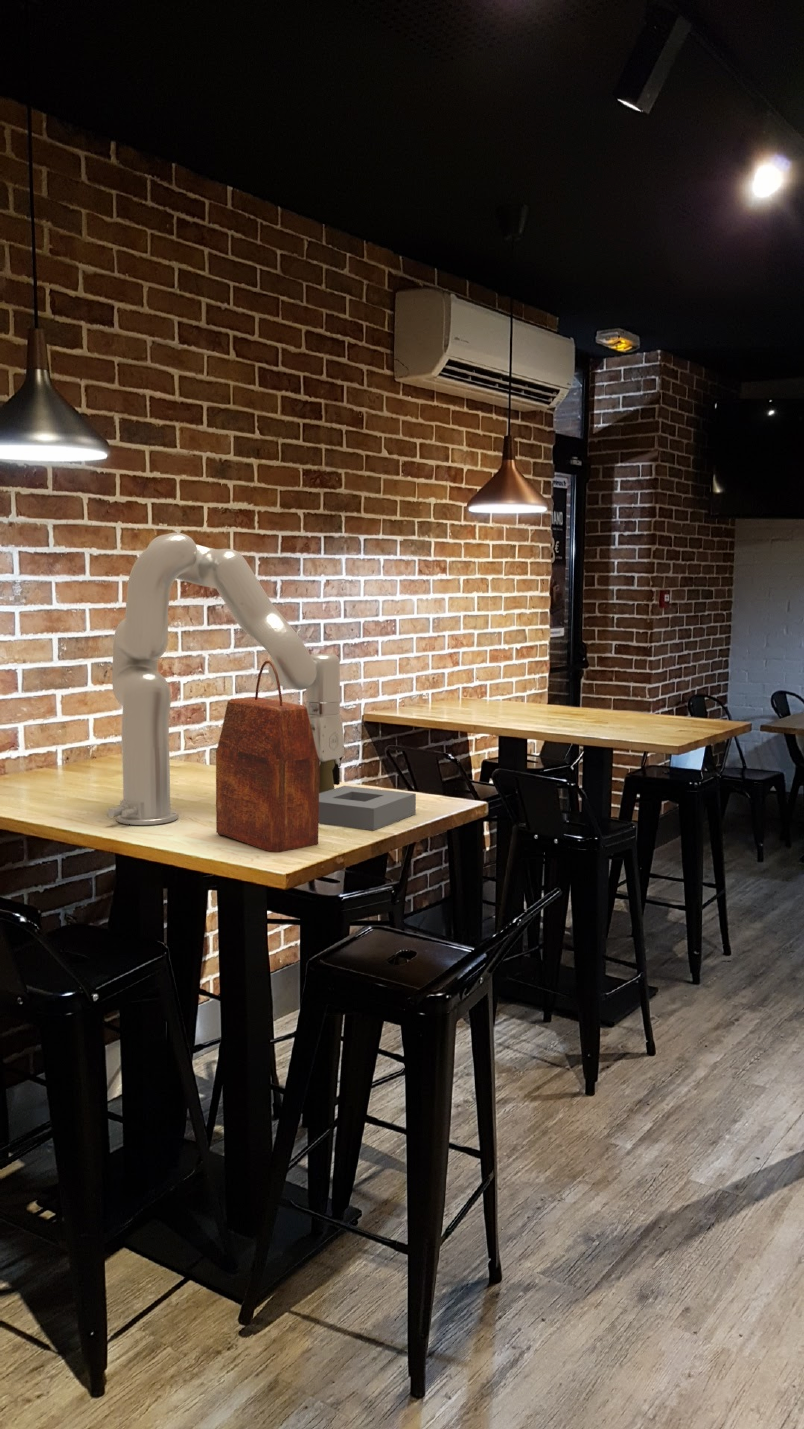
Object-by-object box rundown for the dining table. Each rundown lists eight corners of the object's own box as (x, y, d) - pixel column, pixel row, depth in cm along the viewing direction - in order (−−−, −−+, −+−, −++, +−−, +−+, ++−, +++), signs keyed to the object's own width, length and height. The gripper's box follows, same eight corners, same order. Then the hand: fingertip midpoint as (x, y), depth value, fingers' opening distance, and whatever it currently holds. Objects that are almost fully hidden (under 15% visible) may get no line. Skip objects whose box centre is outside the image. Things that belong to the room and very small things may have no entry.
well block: (373, 830, 212) (373, 808, 211) (299, 820, 220) (299, 799, 220) (415, 814, 228) (415, 793, 227) (344, 805, 236) (344, 785, 236)
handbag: (273, 855, 193) (275, 665, 188) (215, 834, 207) (215, 657, 203) (318, 846, 200) (321, 662, 195) (259, 827, 214) (260, 655, 210)
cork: (311, 801, 241) (311, 753, 239) (337, 801, 240) (337, 753, 239) (308, 806, 235) (308, 757, 233) (335, 807, 234) (335, 758, 233)
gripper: (315, 714, 226) (316, 795, 228) (357, 706, 241) (357, 782, 243) (286, 712, 229) (287, 792, 231) (329, 704, 244) (329, 779, 246)
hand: (323, 786), depth 237 cm, fingers open, 7 cm apart
